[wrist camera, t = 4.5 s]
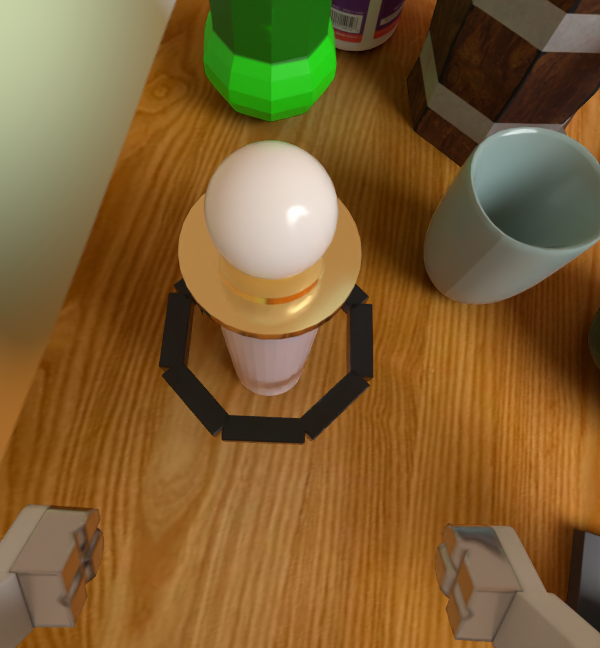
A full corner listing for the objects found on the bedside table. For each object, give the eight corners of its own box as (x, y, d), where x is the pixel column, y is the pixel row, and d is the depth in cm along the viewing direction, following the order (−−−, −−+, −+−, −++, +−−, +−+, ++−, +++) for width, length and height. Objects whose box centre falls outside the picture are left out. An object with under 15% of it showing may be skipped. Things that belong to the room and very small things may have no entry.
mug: (375, 69, 38) (439, -173, 24) (507, 27, 40) (637, -213, 26) (499, 265, 33) (675, 109, 19) (640, 204, 35) (890, 26, 21)
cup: (419, 323, 31) (486, 258, 22) (401, 223, 33) (453, 126, 24) (526, 315, 32) (636, 249, 22) (501, 218, 34) (590, 121, 25)
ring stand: (350, 451, 28) (378, 445, 21) (175, 444, 28) (144, 436, 21) (351, 221, 33) (373, 154, 26) (203, 211, 33) (185, 140, 26)
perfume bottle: (330, 356, 30) (439, 159, 11) (275, 426, 28) (293, 336, 9) (263, 304, 31) (256, 37, 12) (206, 369, 29) (91, 180, 10)
